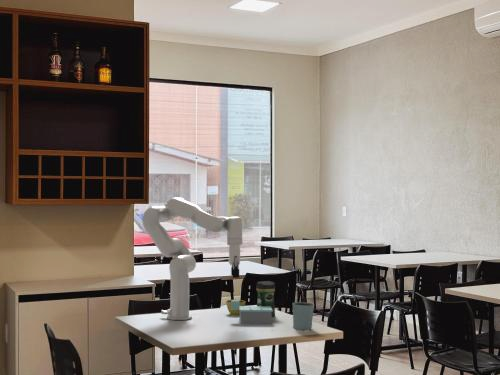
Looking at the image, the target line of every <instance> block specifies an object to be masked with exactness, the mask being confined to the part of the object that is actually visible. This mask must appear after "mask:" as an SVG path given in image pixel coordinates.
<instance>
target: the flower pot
mask: <svg viewBox="0 0 500 375" xmlns="http://www.w3.org/2000/svg"><path fill="white" fill-rule="evenodd" d="M231 300H232V299H228V300H226V302H225V303H226V308H227V310H228V312H229V314H230V315H231V316H232V315H233V316H235V315H236V316H238V315H239V316H240V311H239V310H231ZM238 300H239V301H240V302H239V306H246V301H245V300H243V299H238Z"/></svg>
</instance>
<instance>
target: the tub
mask: <svg viewBox="0 0 500 375" xmlns="http://www.w3.org/2000/svg"><path fill="white" fill-rule="evenodd" d="M272 318H273V317H272V312H240V315H239V322H240V324H241V325H242V324H243V325H245V324H247V325H248V324H250V325H251V324H252V325H254V324H255V325H258V324H259V325H262V324H263V325H265V324H266V325H270V324H271V325H272Z"/></svg>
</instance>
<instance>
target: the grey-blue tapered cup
mask: <svg viewBox="0 0 500 375" xmlns="http://www.w3.org/2000/svg"><path fill="white" fill-rule="evenodd" d="M314 310H315V304H314V303H311V302H305V301H303V302H301V301H300V302H298V301H297V302H292V320H293V322H292V323H293V327H292V329H295V330H302V331H303V332H304V331H305V330H309V331H311V330H312V329H313V328H312V327H313V326H312V325H313V317H314ZM302 331H301V332H302ZM305 332H306V331H305Z"/></svg>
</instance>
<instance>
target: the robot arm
mask: <svg viewBox="0 0 500 375" xmlns="http://www.w3.org/2000/svg"><path fill="white" fill-rule="evenodd" d="M177 217H180V218H182V219H185V220H186V221H189V222H192V223H193V224H195V225H197V226H198V227H200V228H202V229H205V230H207V231H210V232H213V233H219V232H226V239H227V240H226V241H227V242H226V244H227V246H228V264H229V265H230V266H231V268H230V269H231V271H230V272H231V273H230V275H231V276H232V278H234V279H235V278H238V279H239V278H240V267H239V266H240V264H241V246H242V245H243V219H242V217H241V216H230V217H228V216H215V215H212V214H210V213H207V212H205V211H204V210H203V209H201V207H200V206H198V205H197V204H194V203H191V202H189V201H188V200H187V199H186V198H184V197H172V198H169V200H168V201H167V202H166V203H165V204H163V205H152V206H150V207H148V208H146V209H145V211H144V212H143V215H142V226H143V228H144V230H145V232H146V233H147V235H148V237H150V239H151V240H152V242H153V243H154V245H155V246H156V248H157V249H158V251H159V252H160V253H161V255H162V256H163V257H165V258H172V259H171V260H170V263H169V267H168V268H169V275H170V296H169V297H170V298H169V299H170V301H169V302H170V306H169V308H168V309H166V310H163V309H161V315H167V316H166V318H167V320H170V321H171V320H173V321H186V320H190V319H192V318H193V315H191V314H190V276H189V273H191V272H193V271H194V270H195V268H196V267H197V263H196V262H197V261H196V258H195V257H194V255H193V254H192V252H191V251H190V250H189V249H188V247H187V245H186V244H185V243H184V242H183V240H181V239H180V238H178V237H171V235H170V234H169V233H168V231H167V230H166V228H164V227H163V226H162V224H161V223H165V222H168V221H170V220H172V219H175V218H177Z"/></svg>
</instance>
